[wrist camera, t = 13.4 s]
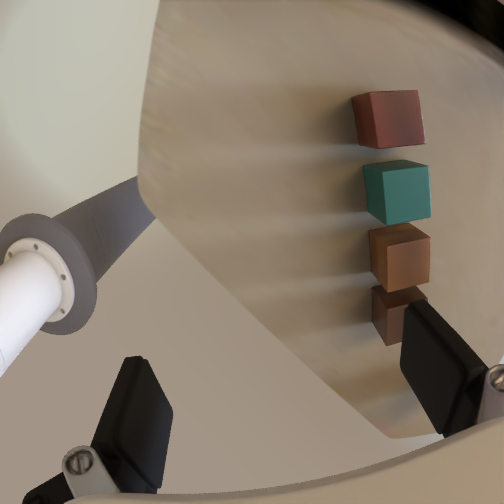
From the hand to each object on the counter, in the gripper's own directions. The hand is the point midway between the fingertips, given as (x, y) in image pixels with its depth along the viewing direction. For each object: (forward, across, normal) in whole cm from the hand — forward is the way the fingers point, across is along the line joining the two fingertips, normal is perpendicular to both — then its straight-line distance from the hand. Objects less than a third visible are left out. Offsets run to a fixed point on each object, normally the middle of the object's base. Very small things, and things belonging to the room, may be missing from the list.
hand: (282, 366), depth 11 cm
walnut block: (+22, -14, +14) cm, 30 cm away
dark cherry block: (+22, -14, -7) cm, 27 cm away
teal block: (+22, -14, 0) cm, 26 cm away
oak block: (+22, -14, +7) cm, 27 cm away
